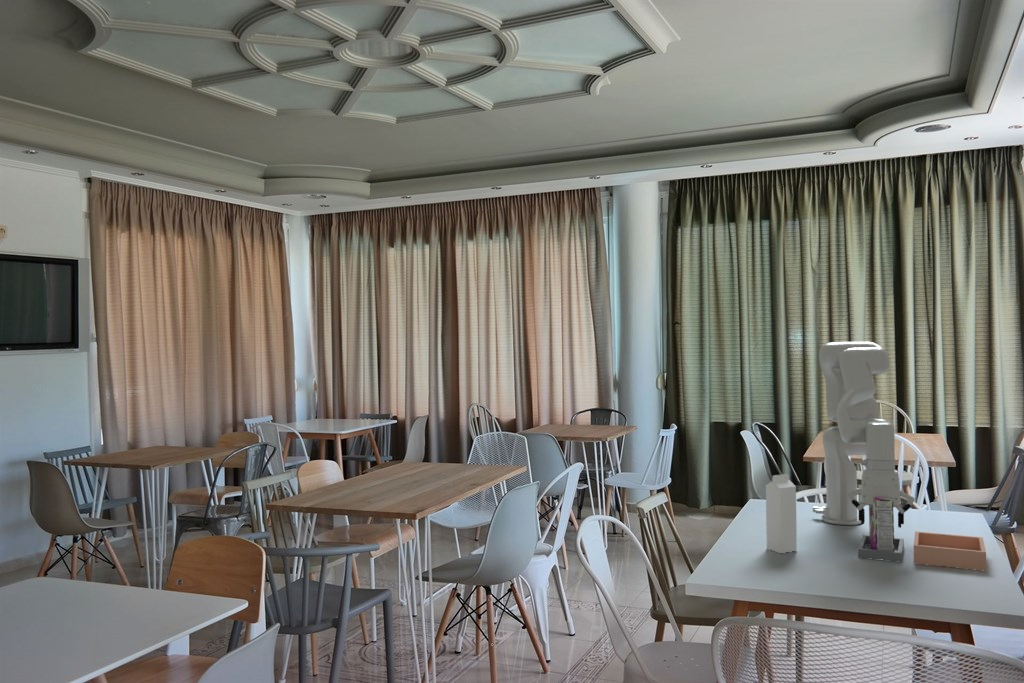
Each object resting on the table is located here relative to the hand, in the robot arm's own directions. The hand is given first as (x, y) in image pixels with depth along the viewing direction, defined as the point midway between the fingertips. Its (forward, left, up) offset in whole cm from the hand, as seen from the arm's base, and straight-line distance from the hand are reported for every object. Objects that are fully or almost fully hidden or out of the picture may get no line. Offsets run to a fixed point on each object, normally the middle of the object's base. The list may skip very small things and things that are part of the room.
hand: (881, 524), depth 231 cm
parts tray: (0, 0, -8) cm, 8 cm away
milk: (-26, -9, -8) cm, 29 cm away
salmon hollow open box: (+17, 0, -8) cm, 19 cm away
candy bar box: (0, 0, -8) cm, 8 cm away
